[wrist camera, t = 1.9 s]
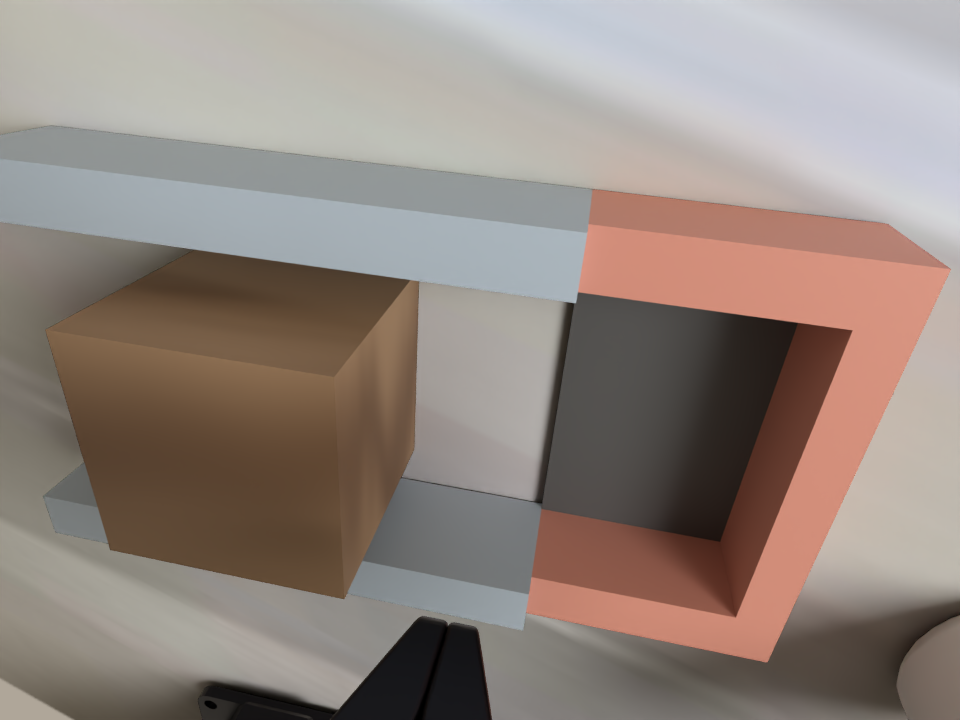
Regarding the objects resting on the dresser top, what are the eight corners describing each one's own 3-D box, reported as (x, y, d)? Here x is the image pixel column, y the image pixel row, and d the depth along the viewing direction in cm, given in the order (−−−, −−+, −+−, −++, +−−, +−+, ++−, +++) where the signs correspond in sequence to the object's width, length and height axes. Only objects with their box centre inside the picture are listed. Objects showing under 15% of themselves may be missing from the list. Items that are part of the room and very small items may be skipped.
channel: (536, 537, 17) (523, 630, 14) (134, 460, 18) (55, 532, 16) (592, 189, 12) (587, 233, 10) (51, 125, 14) (-79, 149, 11)
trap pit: (746, 577, 16) (767, 662, 14) (536, 537, 17) (525, 612, 15) (887, 224, 12) (950, 269, 9) (592, 189, 12) (588, 224, 10)
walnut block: (415, 447, 16) (344, 598, 12) (237, 416, 17) (110, 549, 13) (420, 268, 14) (333, 376, 10) (213, 239, 15) (45, 329, 10)
